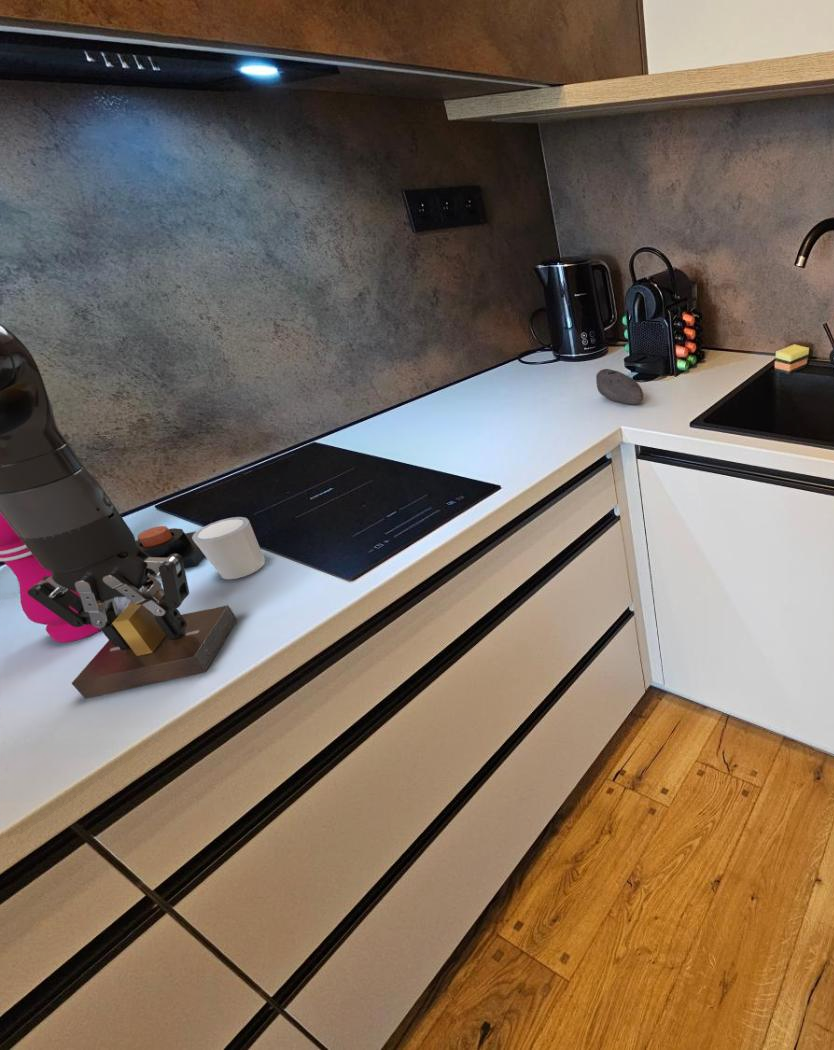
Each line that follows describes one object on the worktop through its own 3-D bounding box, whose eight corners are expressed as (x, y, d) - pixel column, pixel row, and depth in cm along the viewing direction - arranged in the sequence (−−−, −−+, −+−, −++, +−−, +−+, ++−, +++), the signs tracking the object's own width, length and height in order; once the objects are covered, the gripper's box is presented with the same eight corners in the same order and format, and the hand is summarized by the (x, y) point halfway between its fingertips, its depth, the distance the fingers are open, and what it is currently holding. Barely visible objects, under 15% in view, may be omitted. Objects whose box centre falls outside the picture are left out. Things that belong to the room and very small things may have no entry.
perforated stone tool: (651, 405, 137) (648, 376, 134) (634, 411, 134) (630, 382, 131) (613, 393, 147) (609, 365, 143) (596, 398, 144) (592, 370, 140)
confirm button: (138, 550, 88) (132, 540, 87) (150, 538, 91) (144, 528, 90) (166, 545, 88) (160, 535, 88) (177, 533, 91) (171, 524, 90)
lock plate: (84, 699, 66) (69, 682, 64) (131, 641, 74) (119, 625, 73) (205, 672, 68) (193, 655, 67) (237, 619, 76) (228, 603, 75)
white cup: (215, 588, 83) (190, 547, 79) (215, 567, 88) (191, 527, 84) (271, 569, 86) (249, 529, 83) (268, 550, 91) (247, 511, 88)
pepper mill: (51, 626, 78) (-59, 494, 67) (121, 602, 82) (27, 473, 71) (45, 654, 73) (-75, 515, 63) (119, 627, 77) (18, 492, 66)
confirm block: (112, 582, 86) (97, 562, 84) (143, 550, 94) (130, 532, 92) (196, 566, 89) (184, 547, 87) (220, 536, 96) (210, 518, 94)
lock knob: (152, 652, 68) (127, 618, 65) (136, 656, 67) (110, 621, 65) (173, 626, 72) (149, 592, 69) (158, 629, 72) (134, 595, 69)
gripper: (-47, 549, 56) (64, 677, 65) (125, 520, 59) (209, 646, 68) (8, 513, 62) (103, 634, 71) (161, 488, 65) (234, 607, 74)
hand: (154, 639), depth 70 cm, fingers open, 4 cm apart
